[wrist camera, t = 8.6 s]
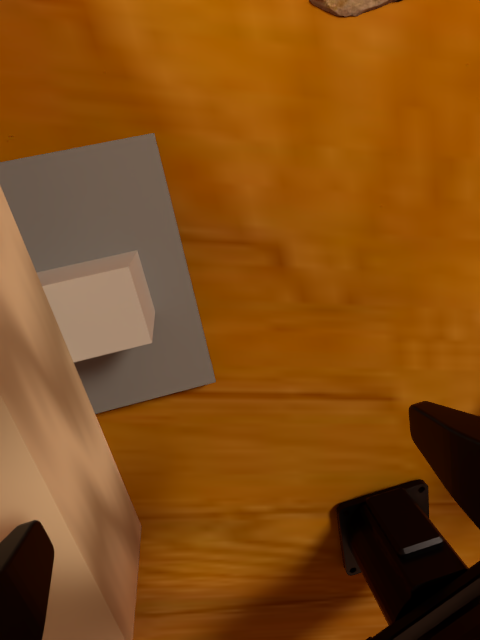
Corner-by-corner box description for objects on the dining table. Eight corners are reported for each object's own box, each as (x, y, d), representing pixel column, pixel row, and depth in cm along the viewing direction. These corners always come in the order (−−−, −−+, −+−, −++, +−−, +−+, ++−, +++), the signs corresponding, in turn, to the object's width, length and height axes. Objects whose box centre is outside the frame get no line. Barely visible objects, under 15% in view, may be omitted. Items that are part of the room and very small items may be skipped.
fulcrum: (213, 373, 21) (227, 425, 16) (-53, 443, 19) (-122, 522, 15) (154, 136, 17) (149, 114, 12) (-191, 202, 15) (-349, 207, 10)
